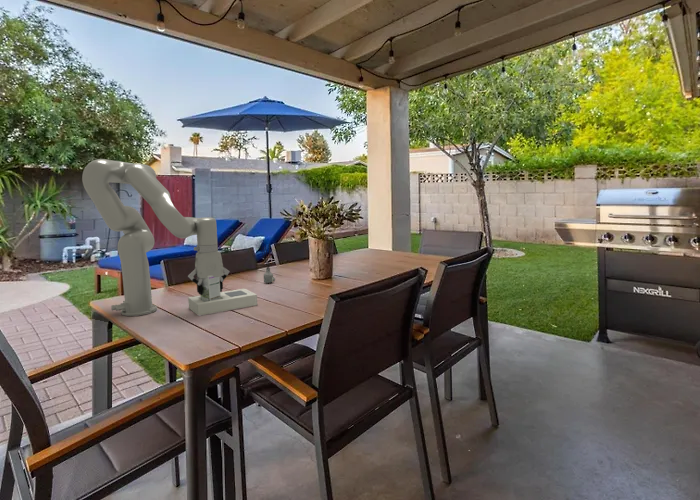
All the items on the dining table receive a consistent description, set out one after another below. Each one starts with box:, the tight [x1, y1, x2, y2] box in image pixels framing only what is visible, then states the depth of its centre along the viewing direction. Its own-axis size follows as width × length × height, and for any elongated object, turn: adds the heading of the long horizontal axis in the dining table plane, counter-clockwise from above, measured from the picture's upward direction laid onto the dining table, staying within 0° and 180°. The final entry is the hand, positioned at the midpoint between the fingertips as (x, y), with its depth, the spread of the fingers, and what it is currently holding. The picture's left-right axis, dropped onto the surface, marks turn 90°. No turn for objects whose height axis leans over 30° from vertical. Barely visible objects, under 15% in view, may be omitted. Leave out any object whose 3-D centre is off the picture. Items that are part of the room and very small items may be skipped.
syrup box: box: [201, 275, 221, 302], centre depth 166 cm, size 6×6×14 cm
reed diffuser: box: [259, 243, 276, 283], centre depth 211 cm, size 10×7×20 cm
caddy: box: [187, 288, 258, 317], centre depth 170 cm, size 24×13×5 cm, turn 126°
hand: (210, 292), depth 166 cm, fingers closed on syrup box, 7 cm apart
